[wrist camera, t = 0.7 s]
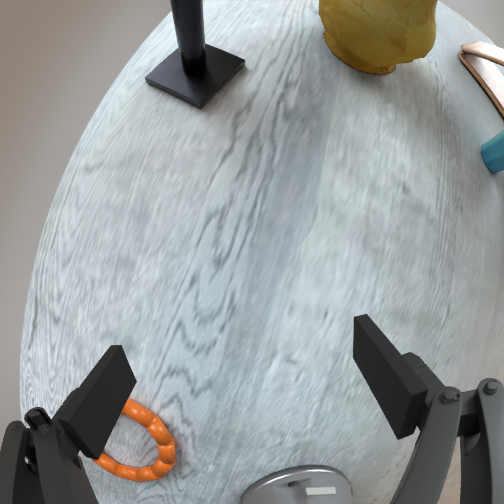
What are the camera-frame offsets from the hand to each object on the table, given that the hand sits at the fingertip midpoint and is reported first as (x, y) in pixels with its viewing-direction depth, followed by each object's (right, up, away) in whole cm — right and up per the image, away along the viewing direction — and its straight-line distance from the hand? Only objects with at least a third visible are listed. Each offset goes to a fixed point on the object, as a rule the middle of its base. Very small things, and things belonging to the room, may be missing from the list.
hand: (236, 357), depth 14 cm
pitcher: (+17, +39, +18) cm, 46 cm away
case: (+59, +47, +22) cm, 78 cm away
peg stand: (-6, +28, +15) cm, 33 cm away
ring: (-14, -16, +10) cm, 24 cm away
